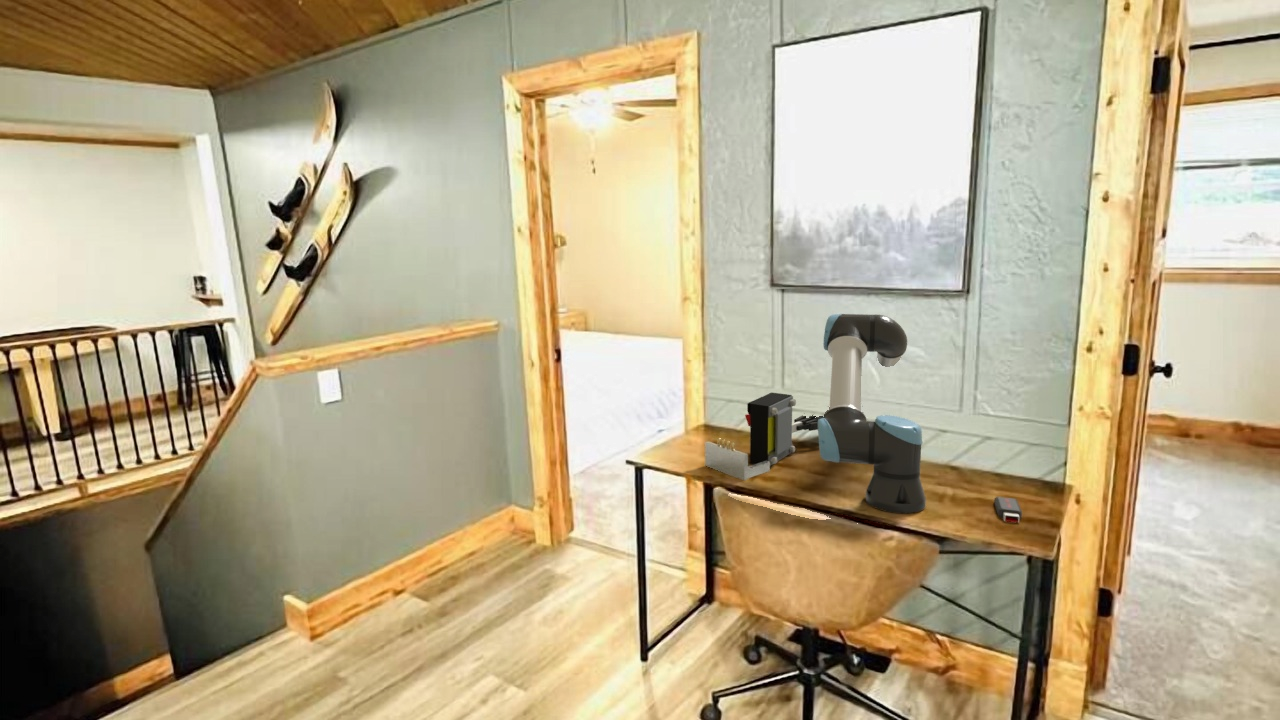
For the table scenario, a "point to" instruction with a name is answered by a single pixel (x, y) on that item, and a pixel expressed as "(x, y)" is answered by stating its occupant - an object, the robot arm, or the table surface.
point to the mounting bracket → (732, 461)
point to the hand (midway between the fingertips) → (788, 429)
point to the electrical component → (770, 427)
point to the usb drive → (1008, 509)
